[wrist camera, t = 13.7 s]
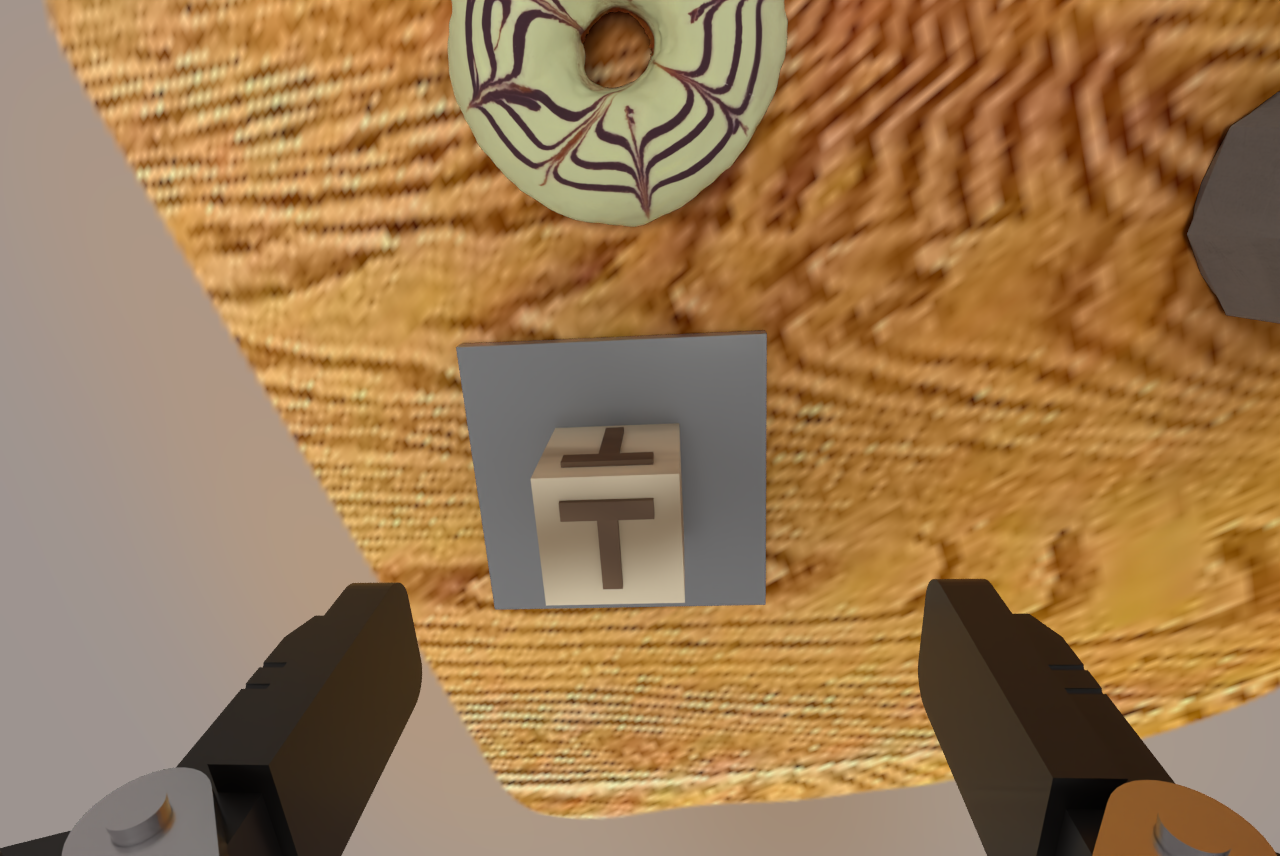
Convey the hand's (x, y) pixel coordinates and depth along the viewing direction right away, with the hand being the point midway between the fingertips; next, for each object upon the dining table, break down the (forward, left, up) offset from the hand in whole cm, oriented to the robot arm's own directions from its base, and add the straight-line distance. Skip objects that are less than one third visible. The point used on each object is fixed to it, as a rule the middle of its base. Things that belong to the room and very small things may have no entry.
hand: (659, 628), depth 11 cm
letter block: (-1, +6, -17) cm, 18 cm away
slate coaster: (-1, +6, -18) cm, 19 cm away
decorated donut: (+6, -8, -18) cm, 21 cm away
